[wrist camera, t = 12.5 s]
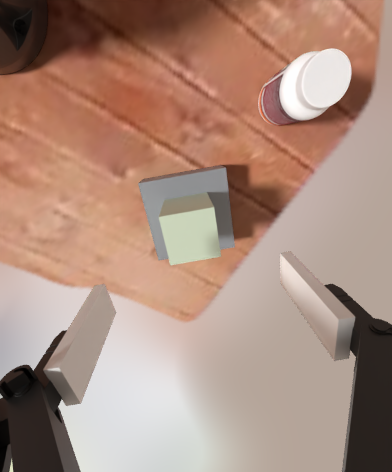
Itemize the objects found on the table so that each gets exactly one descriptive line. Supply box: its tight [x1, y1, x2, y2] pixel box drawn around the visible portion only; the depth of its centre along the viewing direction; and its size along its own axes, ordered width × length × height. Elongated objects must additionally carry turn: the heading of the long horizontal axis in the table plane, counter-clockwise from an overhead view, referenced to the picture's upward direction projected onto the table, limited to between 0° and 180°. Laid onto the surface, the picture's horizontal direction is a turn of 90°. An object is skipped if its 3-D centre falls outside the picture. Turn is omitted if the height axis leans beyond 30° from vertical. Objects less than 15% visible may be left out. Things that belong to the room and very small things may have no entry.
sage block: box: [159, 192, 221, 265], centre depth 29 cm, size 6×6×8 cm
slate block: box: [138, 165, 235, 260], centre depth 34 cm, size 12×12×4 cm
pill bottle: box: [258, 49, 351, 126], centre depth 26 cm, size 6×6×11 cm
